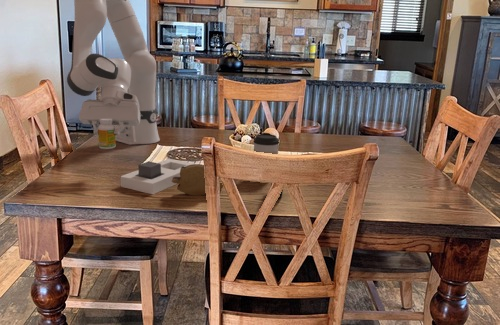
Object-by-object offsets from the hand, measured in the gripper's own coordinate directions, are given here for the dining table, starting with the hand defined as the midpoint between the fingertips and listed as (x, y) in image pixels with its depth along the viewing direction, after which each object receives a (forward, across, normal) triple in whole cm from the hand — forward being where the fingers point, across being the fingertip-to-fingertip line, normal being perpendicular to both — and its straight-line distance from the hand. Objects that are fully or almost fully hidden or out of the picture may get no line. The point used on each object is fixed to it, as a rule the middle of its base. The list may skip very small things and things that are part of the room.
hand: (106, 134), depth 159 cm
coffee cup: (+6, +53, +15) cm, 56 cm away
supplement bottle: (+3, 0, +4) cm, 5 cm away
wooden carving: (+21, +32, +1) cm, 39 cm away
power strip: (+12, +19, +9) cm, 24 cm away
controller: (+19, +57, +2) cm, 60 cm away
